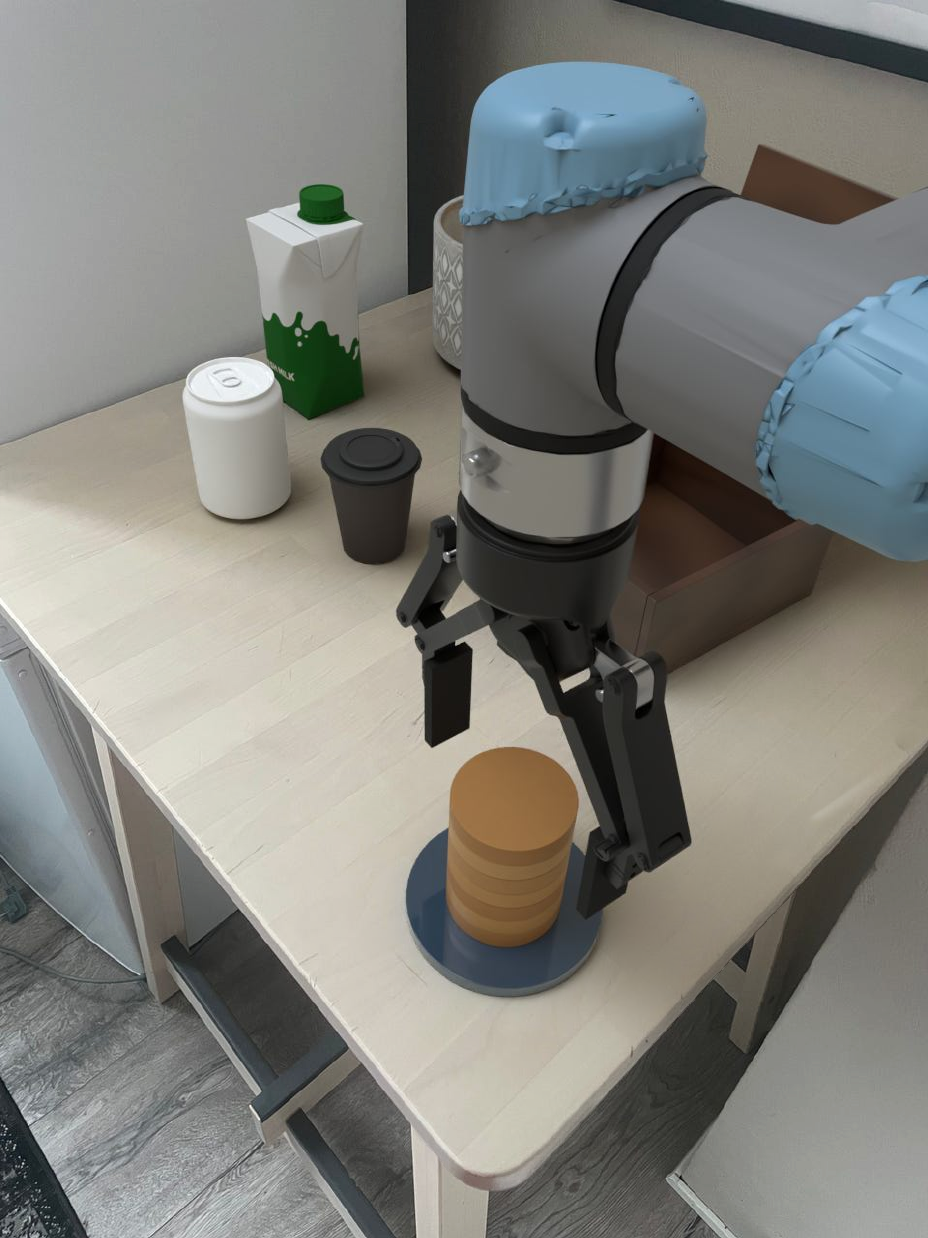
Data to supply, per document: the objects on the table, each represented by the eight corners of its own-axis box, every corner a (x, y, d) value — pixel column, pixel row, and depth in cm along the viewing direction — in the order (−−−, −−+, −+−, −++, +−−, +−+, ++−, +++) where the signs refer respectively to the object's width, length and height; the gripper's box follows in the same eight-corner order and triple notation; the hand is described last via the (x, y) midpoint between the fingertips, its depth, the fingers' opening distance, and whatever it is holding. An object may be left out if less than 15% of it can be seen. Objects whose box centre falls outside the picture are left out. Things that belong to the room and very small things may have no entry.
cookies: (584, 908, 62) (605, 810, 55) (491, 969, 59) (502, 873, 52) (513, 828, 66) (525, 728, 59) (423, 881, 63) (424, 782, 56)
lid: (974, 230, 67) (1010, 231, 70) (757, 143, 78) (797, 147, 81) (841, 503, 79) (877, 493, 82) (669, 394, 90) (707, 389, 93)
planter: (476, 298, 122) (482, 175, 113) (624, 336, 117) (643, 209, 107) (401, 367, 110) (400, 235, 100) (562, 413, 104) (578, 278, 95)
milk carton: (377, 397, 106) (372, 200, 92) (305, 427, 101) (288, 225, 87) (325, 363, 110) (313, 171, 96) (254, 391, 106) (231, 194, 92)
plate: (641, 926, 62) (644, 918, 62) (483, 1037, 57) (483, 1029, 56) (520, 794, 69) (521, 785, 69) (368, 882, 64) (367, 873, 63)
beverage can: (222, 535, 88) (203, 415, 80) (186, 487, 93) (164, 369, 85) (307, 506, 92) (297, 387, 83) (267, 461, 96) (254, 345, 88)
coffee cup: (440, 537, 89) (442, 439, 82) (383, 588, 84) (381, 488, 77) (365, 504, 92) (361, 407, 85) (307, 551, 87) (298, 452, 80)
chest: (636, 691, 77) (656, 602, 70) (486, 556, 87) (492, 469, 81) (812, 593, 85) (842, 507, 79) (655, 482, 96) (672, 399, 90)
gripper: (316, 389, 48) (342, 702, 62) (705, 720, 33) (621, 1031, 47) (448, 346, 51) (444, 653, 65) (856, 630, 36) (734, 946, 51)
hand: (518, 812), depth 56 cm, fingers open, 13 cm apart
